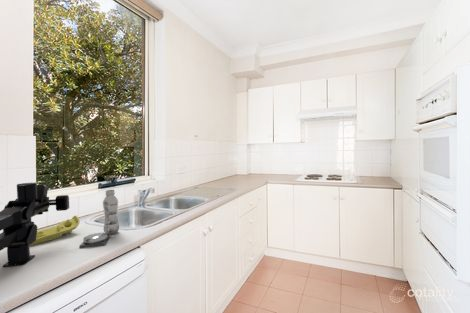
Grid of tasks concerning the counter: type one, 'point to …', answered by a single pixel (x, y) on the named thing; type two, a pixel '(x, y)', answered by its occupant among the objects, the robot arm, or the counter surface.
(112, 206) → the plastic bottle
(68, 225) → the plastic component
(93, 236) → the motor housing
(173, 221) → the counter surface
